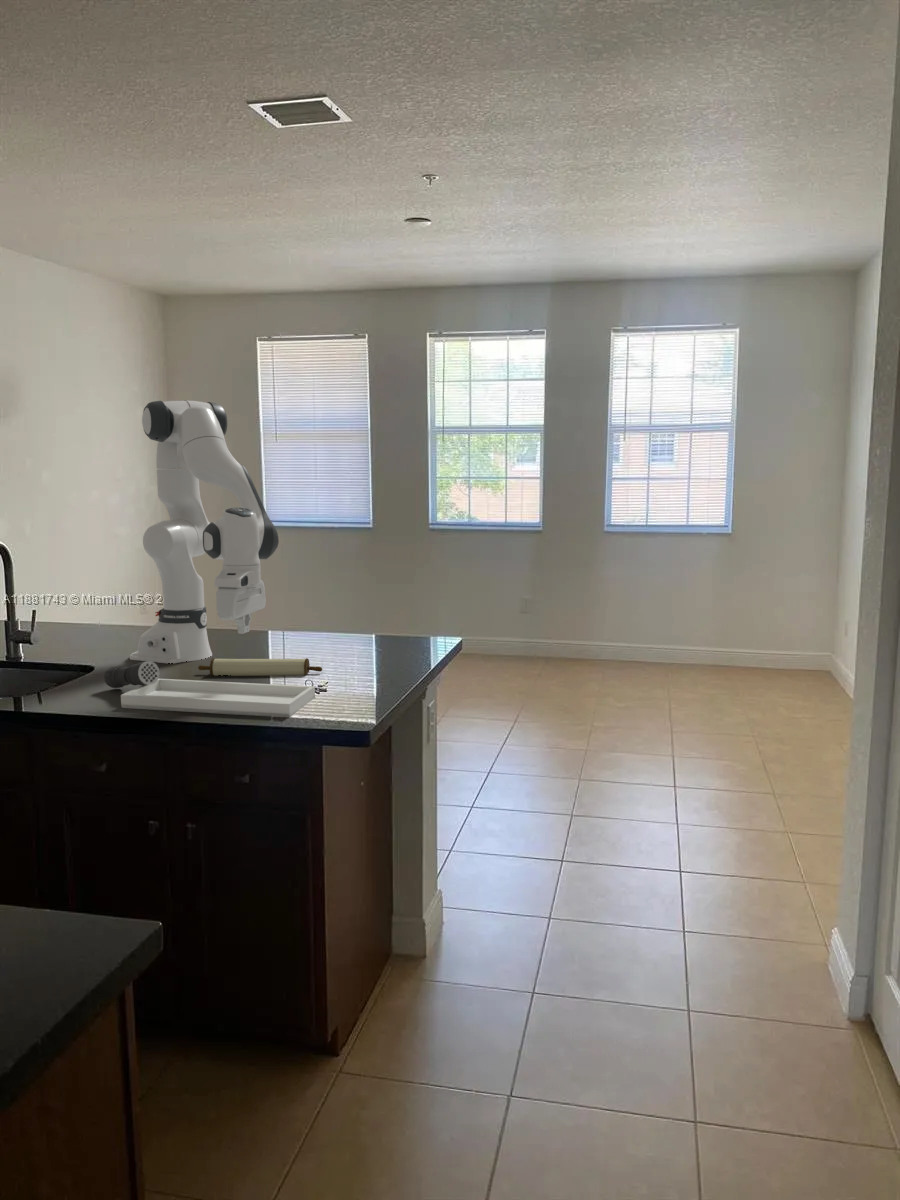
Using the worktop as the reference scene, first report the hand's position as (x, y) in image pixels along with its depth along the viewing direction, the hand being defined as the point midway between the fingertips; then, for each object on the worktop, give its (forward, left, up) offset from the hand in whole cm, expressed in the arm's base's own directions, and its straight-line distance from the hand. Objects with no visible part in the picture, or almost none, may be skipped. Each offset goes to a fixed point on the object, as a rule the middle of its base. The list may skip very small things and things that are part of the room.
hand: (243, 632), depth 212 cm
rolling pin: (-2, +13, -14) cm, 20 cm away
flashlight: (-28, -6, -15) cm, 32 cm away
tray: (0, -14, -14) cm, 20 cm away
